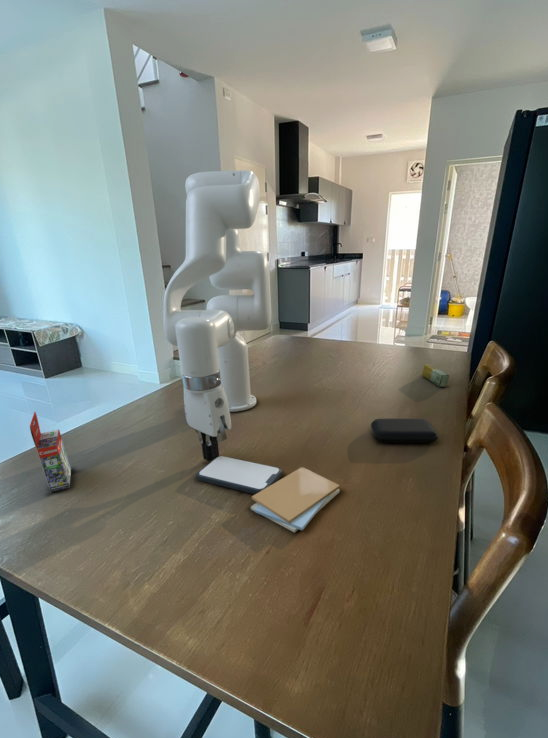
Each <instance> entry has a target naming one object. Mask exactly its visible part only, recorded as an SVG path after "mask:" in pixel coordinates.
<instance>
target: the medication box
mask: <svg viewBox="0 0 548 738" xmlns="http://www.w3.org/2000/svg"><path fill="white" fill-rule="evenodd" d="M421 376H422V377H424V378H426V379H427V380H429V381H430V382H432V383H433V384H435V385H436V386H438V387H439V388H447V386H448V383H449V379H450V375H449V374H448V373H447V372H444V371H442V370H441V369H440V368H437V367H435V366H434V365H432V364H428V363H427V364H423V367H422V371H421Z"/></svg>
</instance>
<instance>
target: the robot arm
mask: <svg viewBox="0 0 548 738" xmlns="http://www.w3.org/2000/svg"><path fill="white" fill-rule="evenodd" d="M184 184H185V186H184V187H185V193H186V200H185V258H184V261H183V262H182V264H181V265H180V266H179V267H178V268H177V269H176V270H175V272H174V273H173V275H172V276H171V277H170V280H169V282H168V284H167V286H166V288H165V291H164V294H163V304H162V306H163V307H162V308H163V309H162V311H163V312H162V319H163V322H162V323H163V332H164V336H165V339H166V340H167V342H168V343H169V344H170V345H172V346H175V347H177V351H178V357H179V358H178V359H179V365H180V372H181V378H182V379H181V380H182V386H183V405H184V406H183V408H184V414H185V419H186V424H187V425H188V426H189V427H191V429H193V431H195V433H197V437H198V440H199V443H201V450H202V459H203V460H206V461H207V462H211V461H212V460H214V459H215V458H216V457H218V456H220V449H219V444H218V443H220V442H224V441H226V440H228V437H227V434H226V431H230V430H232V420H231V419H232V418H231V413H234V412H235V413H236V412H244V411H246V410H249V409H252V408H254V406H256V405H257V398H256V396H255V395H254V394H252V393H251V379H250V378H251V377H250V366H249V365H250V363H249V348H248V344H247V342H246V340H245V338H244V337H243V336H242V335H241V334H240V332H243V331H248V332H249V331H264V330H267V329H269V327H270V326H271V323H272V295H271V294H272V293H271V275H270V265H269V261H268V260H269V259H268V258H267V256H266V254H265V253H263V252H262V251H259V250H241V248H240V232H239V230H247V229H250V228H251V227H253V225H254V223H255V221H256V217H257V213H258V209H259V204H260V200H261V187H260V186H261V185H260V182H259V178H258V176H257V175H256V174H255V173H254V172H253V171H251V170H247V169H246V170H243V169H242V170H241V169H240V170H239V169H238V170H212V171H211V170H210V171H199V172H195V173H193V174H190V175H189V176H188V177H187V178H186V179H185V183H184ZM207 278H209V281H210V285H211V286H212V287H213V288H215V289H216V290H223V291H225V290H227V291H230V290H231V291H234V290H235V291H236V290H250V291H252V293H253V294H221V295H217V296H214V297H212V298H210V299H209V300H208V301H207V304H206V308H205V309H182V302H183V299H184V296H185V295H186V294H187V292H188V291H189V290H190V289H191V288H192V287H194V286H195V285H197V284H198V283H200V282H201V281H203V280H205V279H207Z"/></svg>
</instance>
